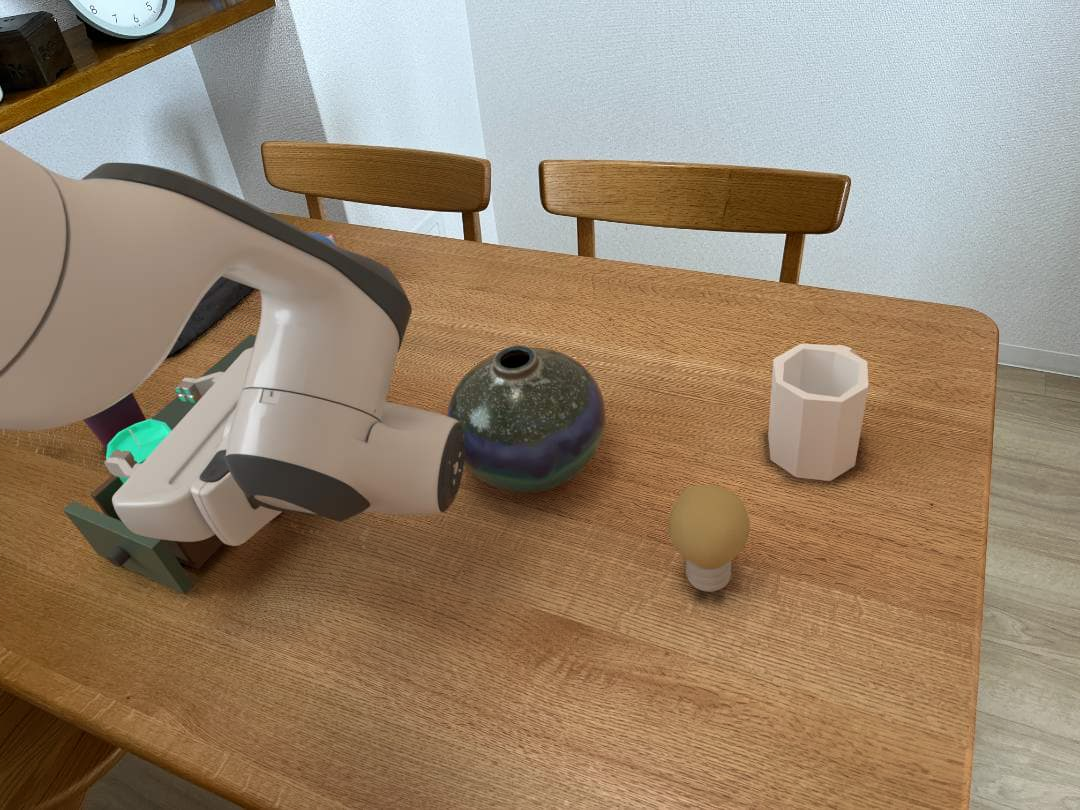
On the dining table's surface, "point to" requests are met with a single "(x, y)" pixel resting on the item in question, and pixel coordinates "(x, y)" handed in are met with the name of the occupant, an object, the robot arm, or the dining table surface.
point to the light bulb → (708, 533)
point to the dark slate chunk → (211, 309)
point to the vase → (528, 418)
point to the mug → (817, 410)
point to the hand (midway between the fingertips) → (148, 424)
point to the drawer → (137, 542)
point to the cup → (115, 419)
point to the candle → (139, 440)
